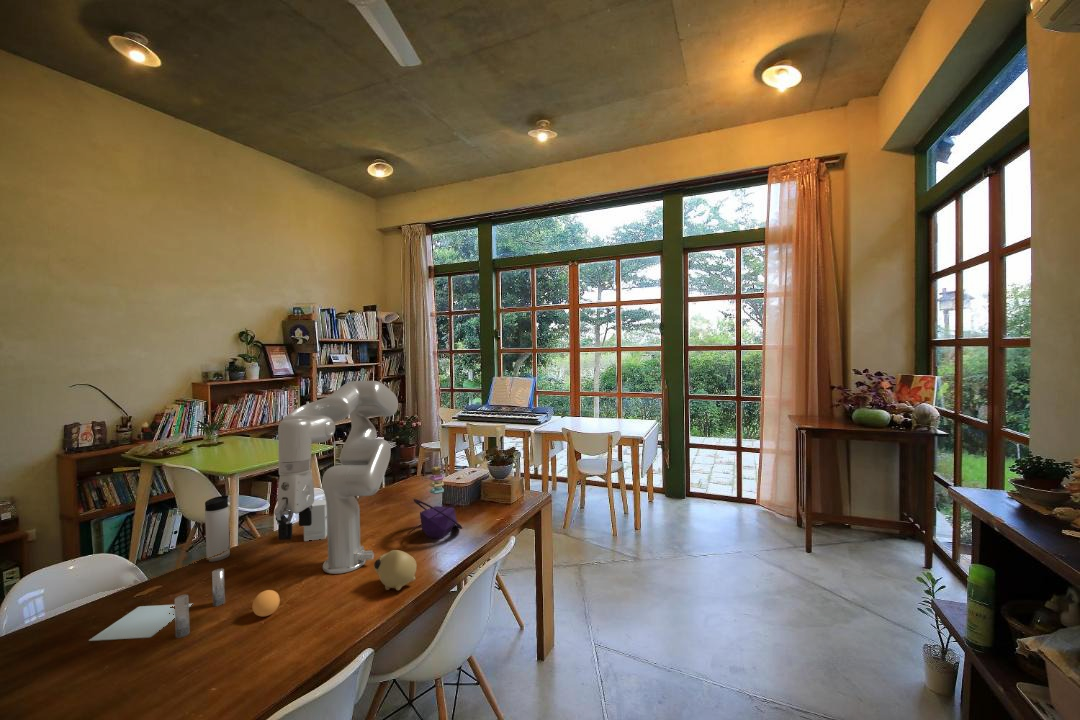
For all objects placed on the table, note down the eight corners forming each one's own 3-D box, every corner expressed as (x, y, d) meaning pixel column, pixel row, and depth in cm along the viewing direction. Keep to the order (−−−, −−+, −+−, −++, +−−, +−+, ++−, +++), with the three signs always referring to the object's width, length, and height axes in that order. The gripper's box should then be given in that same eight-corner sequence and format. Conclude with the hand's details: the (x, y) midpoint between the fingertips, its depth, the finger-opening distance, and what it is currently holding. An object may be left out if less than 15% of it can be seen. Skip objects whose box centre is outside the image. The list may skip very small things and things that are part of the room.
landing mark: (193, 604, 119) (193, 603, 119) (150, 637, 105) (150, 636, 105) (139, 607, 118) (138, 606, 118) (88, 641, 104) (88, 640, 104)
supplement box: (325, 539, 160) (324, 504, 160) (303, 541, 158) (302, 506, 158) (330, 531, 167) (329, 498, 167) (309, 533, 166) (308, 500, 165)
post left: (192, 630, 107) (191, 594, 107) (184, 637, 105) (183, 600, 105) (181, 631, 107) (179, 594, 107) (172, 638, 105) (171, 600, 105)
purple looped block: (480, 533, 162) (478, 465, 162) (432, 554, 146) (430, 479, 146) (442, 519, 177) (441, 457, 176) (395, 537, 161) (393, 468, 160)
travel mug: (235, 554, 150) (233, 495, 149) (215, 563, 143) (213, 501, 143) (222, 551, 152) (220, 494, 151) (202, 560, 145) (200, 500, 145)
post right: (227, 600, 120) (226, 568, 120) (220, 606, 118) (219, 572, 118) (217, 601, 120) (216, 568, 120) (210, 606, 118) (209, 573, 118)
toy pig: (396, 573, 134) (395, 538, 134) (423, 584, 127) (422, 547, 127) (368, 588, 125) (367, 551, 125) (396, 600, 119) (394, 561, 119)
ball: (284, 607, 117) (283, 584, 117) (272, 621, 111) (271, 597, 111) (261, 608, 116) (260, 586, 116) (247, 622, 110) (246, 598, 110)
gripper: (292, 474, 107) (292, 544, 107) (324, 459, 124) (325, 520, 124) (260, 474, 107) (261, 545, 107) (298, 460, 124) (298, 521, 124)
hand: (295, 532), depth 115 cm, fingers open, 9 cm apart
